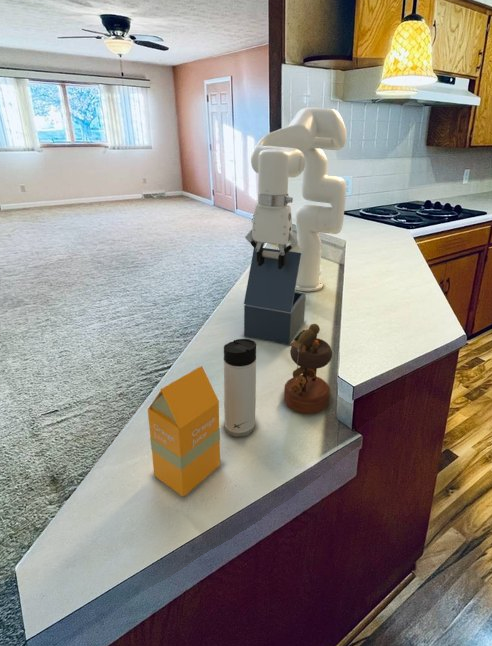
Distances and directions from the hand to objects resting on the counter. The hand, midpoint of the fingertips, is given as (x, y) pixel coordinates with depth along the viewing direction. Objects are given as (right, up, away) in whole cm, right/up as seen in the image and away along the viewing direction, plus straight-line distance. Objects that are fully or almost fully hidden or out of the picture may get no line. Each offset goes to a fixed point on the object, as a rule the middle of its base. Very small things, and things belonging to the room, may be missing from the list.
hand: (271, 265), depth 113 cm
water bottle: (+2, -9, +40) cm, 41 cm away
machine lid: (0, -4, +3) cm, 5 cm away
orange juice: (-12, -39, -39) cm, 56 cm away
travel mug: (-4, -35, -28) cm, 45 cm away
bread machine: (0, -19, +14) cm, 23 cm away
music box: (+10, -32, -17) cm, 37 cm away
